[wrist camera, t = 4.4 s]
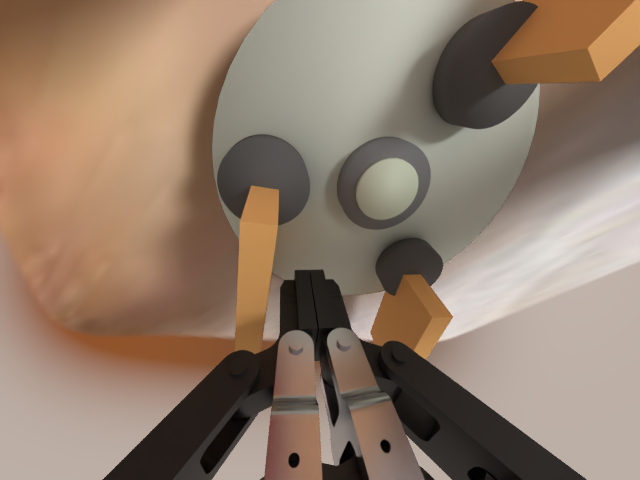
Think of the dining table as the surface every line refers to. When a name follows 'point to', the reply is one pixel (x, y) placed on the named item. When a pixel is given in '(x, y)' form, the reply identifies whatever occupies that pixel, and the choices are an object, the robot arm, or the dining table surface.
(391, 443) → the robot arm
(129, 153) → the dining table surface
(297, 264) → the tribrach plate
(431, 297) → the knob
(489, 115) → the knob
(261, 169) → the knob
